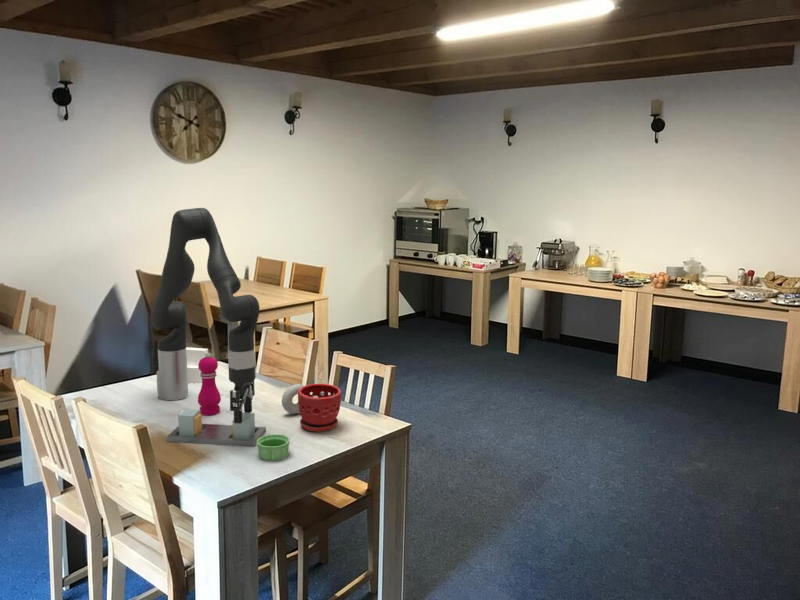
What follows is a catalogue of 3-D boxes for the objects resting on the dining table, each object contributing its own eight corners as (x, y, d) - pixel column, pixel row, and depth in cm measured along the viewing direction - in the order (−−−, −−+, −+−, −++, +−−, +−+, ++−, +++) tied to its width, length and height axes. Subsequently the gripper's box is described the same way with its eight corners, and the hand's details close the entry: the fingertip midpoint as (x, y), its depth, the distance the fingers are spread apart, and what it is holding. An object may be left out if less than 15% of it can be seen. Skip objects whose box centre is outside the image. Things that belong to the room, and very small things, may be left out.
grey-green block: (232, 441, 190) (231, 418, 188) (238, 434, 195) (238, 412, 194) (248, 442, 189) (248, 419, 188) (255, 435, 194) (254, 413, 193)
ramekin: (260, 464, 175) (260, 448, 174) (254, 451, 183) (253, 436, 183) (293, 459, 179) (293, 443, 178) (285, 446, 187) (285, 432, 186)
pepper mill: (214, 417, 208) (212, 356, 205) (194, 415, 210) (191, 354, 206) (225, 409, 215) (223, 350, 211) (205, 407, 217) (202, 349, 213)
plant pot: (290, 431, 198) (289, 393, 196) (311, 416, 210) (311, 381, 208) (328, 437, 193) (328, 399, 191) (348, 423, 205) (348, 386, 203)
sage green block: (179, 438, 191) (178, 415, 190) (187, 431, 196) (186, 408, 195) (195, 439, 191) (194, 416, 189) (203, 432, 196) (202, 409, 195)
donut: (284, 418, 208) (284, 388, 206) (280, 415, 211) (279, 385, 209) (312, 412, 214) (312, 383, 212) (307, 409, 217) (307, 380, 215)
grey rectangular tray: (166, 441, 189) (166, 436, 188) (183, 427, 199) (182, 422, 199) (254, 446, 186) (254, 441, 186) (266, 431, 197) (265, 427, 197)
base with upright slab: (179, 382, 242) (178, 351, 240) (191, 375, 251) (190, 345, 248) (202, 384, 240) (201, 352, 238) (213, 377, 249) (212, 346, 247)
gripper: (237, 356, 195) (239, 408, 198) (220, 370, 181) (221, 426, 184) (262, 358, 195) (263, 409, 198) (246, 372, 181) (247, 427, 184)
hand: (243, 417), depth 191 cm, fingers open, 8 cm apart
